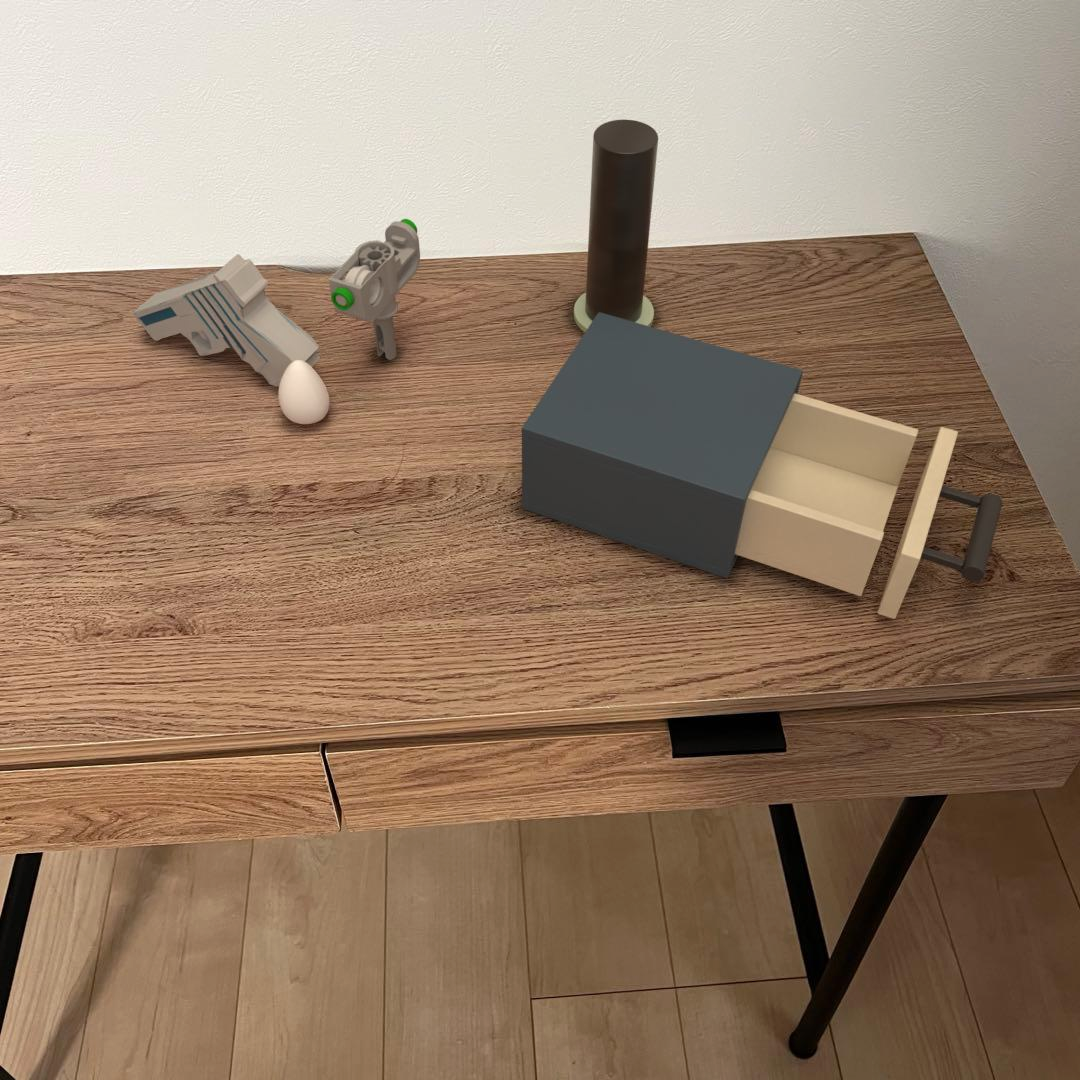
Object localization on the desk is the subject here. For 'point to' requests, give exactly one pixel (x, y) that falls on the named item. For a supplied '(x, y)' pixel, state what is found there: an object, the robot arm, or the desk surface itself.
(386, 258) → the mechanical component
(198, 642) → the desk surface
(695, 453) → the cabinet
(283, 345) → the toy gun
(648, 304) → the coaster
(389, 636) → the desk surface
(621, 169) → the dark brown cylinder
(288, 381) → the egg
